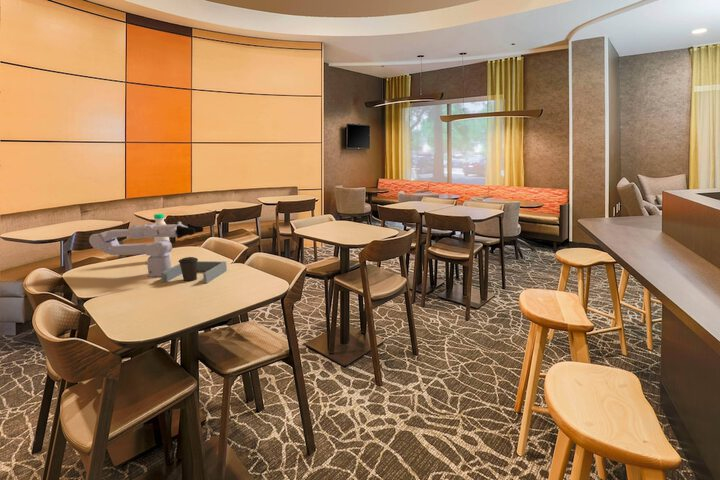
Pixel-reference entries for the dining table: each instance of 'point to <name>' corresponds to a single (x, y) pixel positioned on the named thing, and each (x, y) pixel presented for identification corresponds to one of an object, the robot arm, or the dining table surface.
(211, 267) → the gray rectangular arch
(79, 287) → the dining table surface
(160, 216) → the water bottle
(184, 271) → the coffee cup
